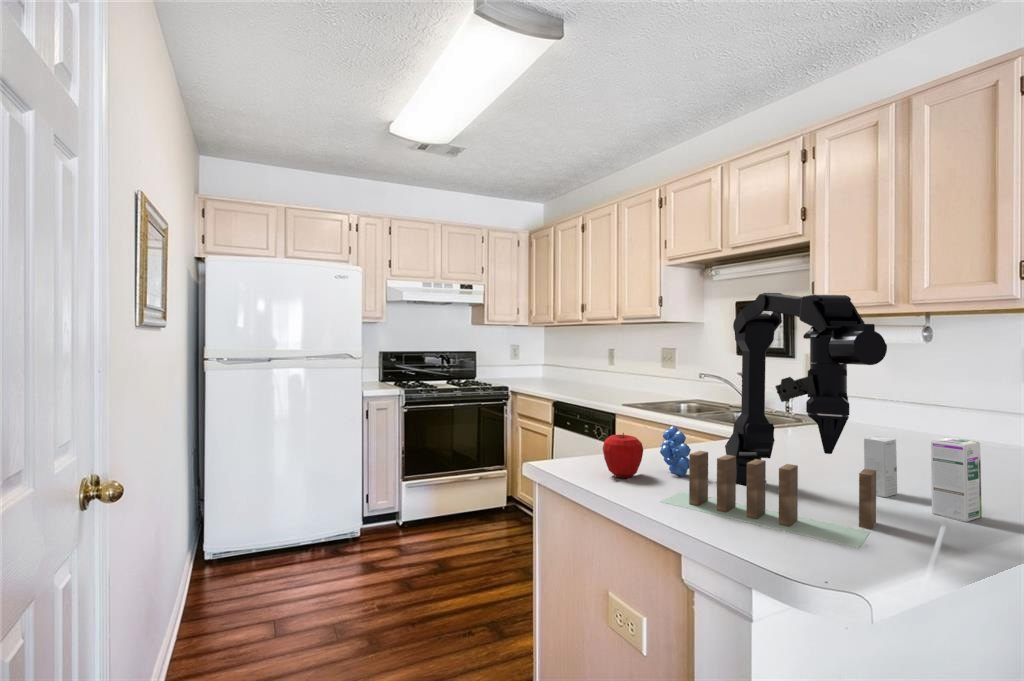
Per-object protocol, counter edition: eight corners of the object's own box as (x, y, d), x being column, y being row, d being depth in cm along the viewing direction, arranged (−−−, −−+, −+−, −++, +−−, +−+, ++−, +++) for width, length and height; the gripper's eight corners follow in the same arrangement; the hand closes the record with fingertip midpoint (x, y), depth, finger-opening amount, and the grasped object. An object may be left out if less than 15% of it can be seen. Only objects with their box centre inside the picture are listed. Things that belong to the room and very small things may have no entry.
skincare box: (886, 498, 110) (886, 441, 110) (862, 493, 114) (862, 438, 114) (898, 493, 114) (898, 438, 114) (875, 489, 117) (875, 435, 117)
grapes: (648, 470, 133) (649, 423, 133) (672, 469, 135) (673, 423, 135) (671, 482, 122) (671, 431, 122) (697, 480, 123) (697, 430, 123)
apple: (595, 473, 129) (595, 430, 129) (626, 470, 133) (627, 428, 133) (618, 483, 120) (618, 437, 120) (651, 479, 124) (651, 434, 124)
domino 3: (746, 517, 95) (746, 463, 95) (755, 511, 99) (755, 459, 99) (756, 519, 94) (756, 464, 94) (765, 513, 98) (765, 460, 98)
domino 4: (778, 524, 92) (778, 468, 92) (786, 518, 95) (786, 463, 95) (789, 527, 90) (789, 470, 90) (797, 520, 94) (797, 465, 94)
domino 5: (858, 530, 91) (859, 473, 91) (864, 523, 94) (864, 468, 94) (871, 532, 90) (871, 475, 90) (876, 525, 93) (876, 470, 93)
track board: (681, 494, 112) (681, 491, 112) (870, 535, 88) (870, 531, 88) (659, 504, 105) (659, 501, 105) (858, 552, 81) (858, 548, 81)
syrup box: (967, 522, 95) (967, 444, 95) (930, 513, 100) (930, 438, 100) (982, 518, 98) (982, 441, 98) (944, 509, 103) (944, 436, 103)
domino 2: (716, 510, 99) (716, 458, 99) (726, 505, 103) (726, 454, 103) (726, 512, 98) (726, 460, 98) (735, 507, 101) (735, 456, 102)
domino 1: (689, 504, 103) (689, 454, 103) (699, 499, 106) (699, 450, 107) (698, 506, 102) (698, 455, 102) (708, 501, 105) (708, 451, 105)
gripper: (783, 361, 106) (783, 437, 106) (773, 363, 90) (773, 453, 90) (847, 362, 100) (847, 443, 100) (849, 365, 85) (849, 460, 84)
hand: (828, 449), depth 94 cm, fingers open, 9 cm apart
